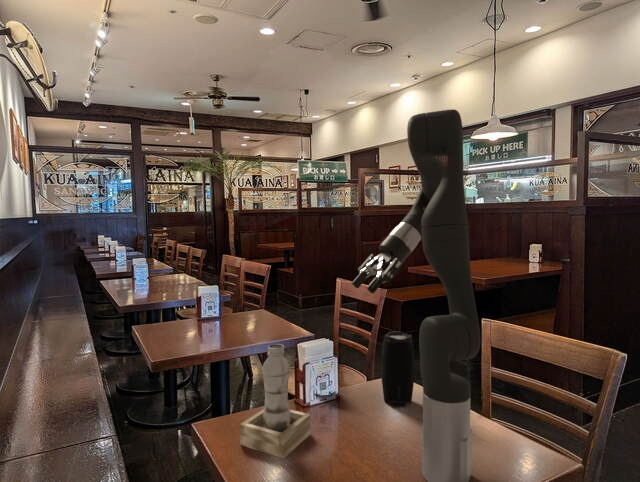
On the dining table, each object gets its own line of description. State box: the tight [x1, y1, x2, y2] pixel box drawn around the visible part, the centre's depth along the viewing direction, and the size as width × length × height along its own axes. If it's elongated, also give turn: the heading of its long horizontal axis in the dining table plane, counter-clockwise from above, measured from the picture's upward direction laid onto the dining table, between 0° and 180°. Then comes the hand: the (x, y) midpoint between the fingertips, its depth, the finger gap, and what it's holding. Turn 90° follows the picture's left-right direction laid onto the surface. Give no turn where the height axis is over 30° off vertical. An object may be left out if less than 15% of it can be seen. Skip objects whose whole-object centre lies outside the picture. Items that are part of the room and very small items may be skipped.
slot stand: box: [239, 408, 311, 459], centre depth 104 cm, size 12×12×5 cm
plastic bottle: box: [261, 343, 291, 432], centre depth 103 cm, size 6×7×20 cm
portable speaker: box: [381, 330, 415, 408], centre depth 124 cm, size 9×9×20 cm
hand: (361, 288), depth 112 cm, fingers open, 8 cm apart
